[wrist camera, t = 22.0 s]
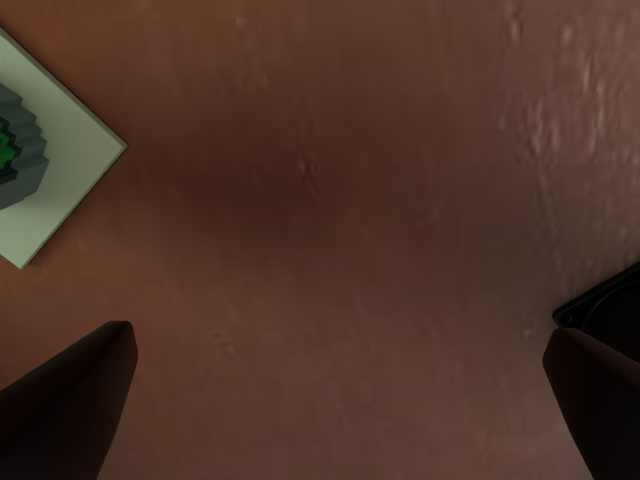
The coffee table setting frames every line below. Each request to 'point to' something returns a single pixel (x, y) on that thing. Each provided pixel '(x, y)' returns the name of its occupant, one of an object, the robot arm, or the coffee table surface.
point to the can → (19, 150)
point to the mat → (51, 153)
